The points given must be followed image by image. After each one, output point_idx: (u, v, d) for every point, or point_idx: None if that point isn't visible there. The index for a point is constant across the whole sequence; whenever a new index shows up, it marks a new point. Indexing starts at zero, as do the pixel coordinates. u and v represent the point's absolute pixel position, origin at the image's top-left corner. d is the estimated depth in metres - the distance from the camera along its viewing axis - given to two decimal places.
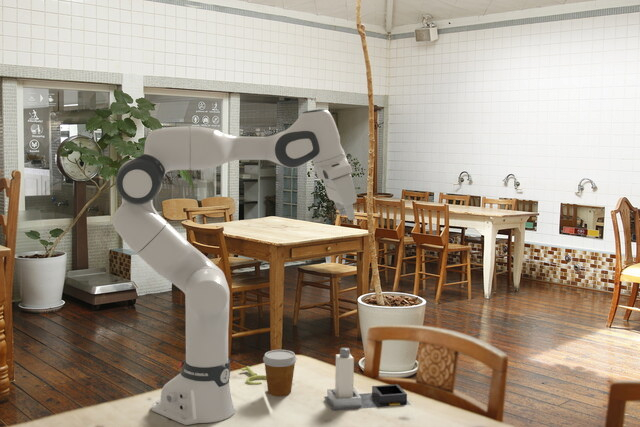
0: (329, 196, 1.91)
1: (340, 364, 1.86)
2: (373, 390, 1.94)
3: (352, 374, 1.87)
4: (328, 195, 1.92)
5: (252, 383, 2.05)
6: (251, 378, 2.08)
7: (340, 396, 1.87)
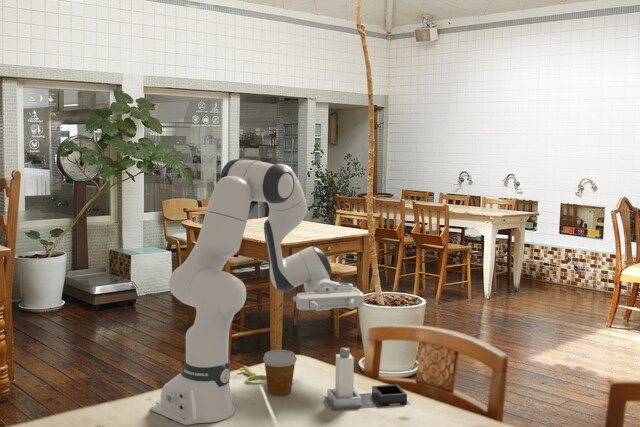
0: (308, 297, 2.02)
1: (340, 364, 1.86)
2: (373, 390, 1.94)
3: (352, 374, 1.87)
4: (304, 297, 2.02)
5: (252, 383, 2.05)
6: (250, 378, 2.08)
7: (340, 396, 1.87)
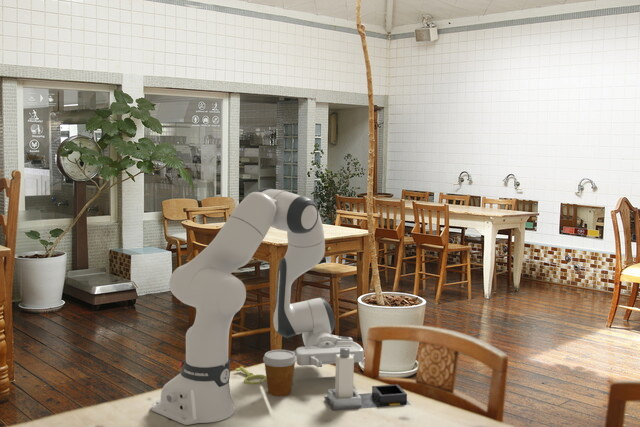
0: (308, 352, 2.02)
1: (340, 364, 1.86)
2: (373, 390, 1.94)
3: (352, 374, 1.87)
4: (305, 352, 2.01)
5: (251, 383, 2.05)
6: (248, 378, 2.08)
7: (340, 396, 1.87)
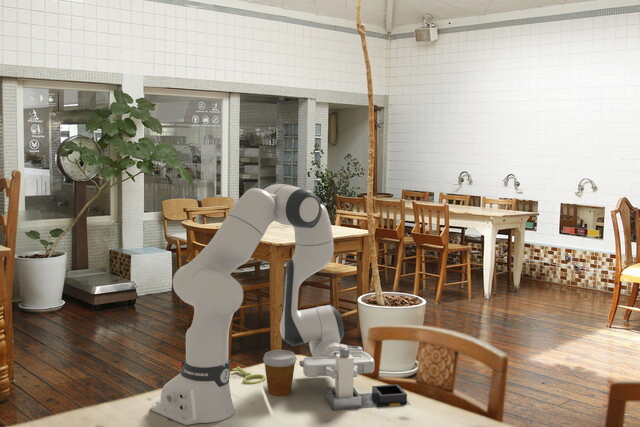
0: (316, 363, 1.92)
1: (340, 364, 1.86)
2: (373, 390, 1.94)
3: (352, 374, 1.87)
4: (312, 363, 1.92)
5: (250, 382, 2.05)
6: (247, 378, 2.08)
7: (340, 396, 1.87)
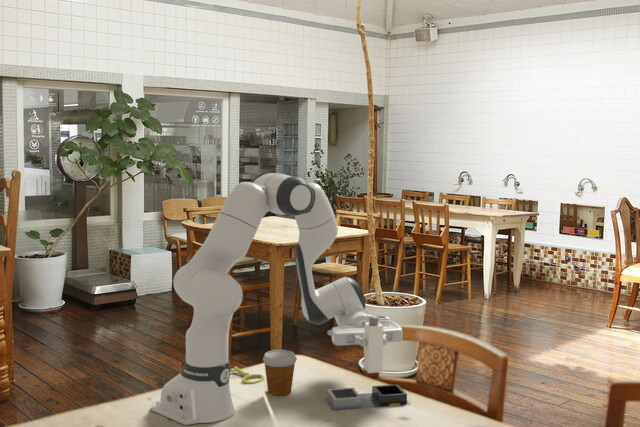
0: (345, 331, 1.93)
1: (369, 332, 1.87)
2: (373, 390, 1.94)
3: (381, 342, 1.88)
4: (341, 331, 1.93)
5: (249, 382, 2.05)
6: (246, 378, 2.08)
7: (370, 364, 1.88)
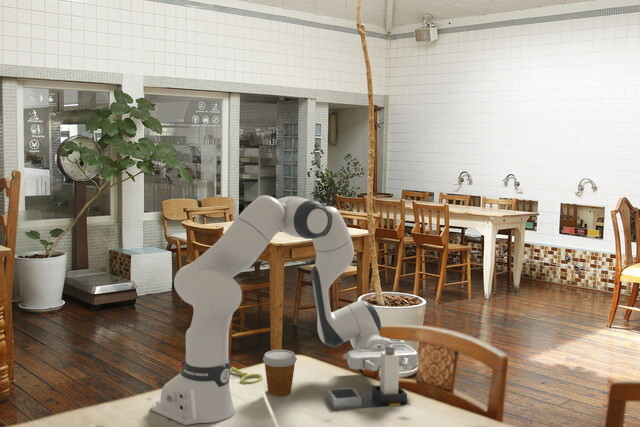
0: (361, 355, 1.95)
1: (386, 361, 1.89)
2: (373, 390, 1.94)
3: (397, 371, 1.90)
4: (358, 355, 1.95)
5: (249, 382, 2.06)
6: (244, 378, 2.08)
7: (385, 392, 1.90)
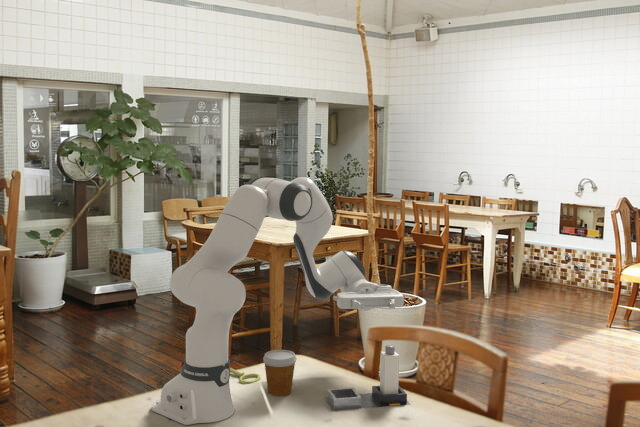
0: (350, 296, 2.06)
1: (386, 361, 1.89)
2: (373, 390, 1.94)
3: (397, 371, 1.90)
4: (346, 296, 2.05)
5: (248, 382, 2.06)
6: (242, 378, 2.08)
7: (385, 392, 1.90)
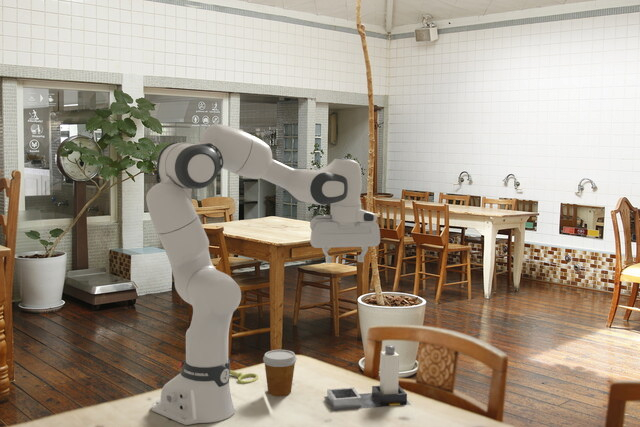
0: (324, 243, 1.97)
1: (386, 361, 1.89)
2: (373, 390, 1.94)
3: (397, 371, 1.90)
4: (320, 243, 1.96)
5: (246, 382, 2.06)
6: (240, 378, 2.08)
7: (385, 392, 1.90)
